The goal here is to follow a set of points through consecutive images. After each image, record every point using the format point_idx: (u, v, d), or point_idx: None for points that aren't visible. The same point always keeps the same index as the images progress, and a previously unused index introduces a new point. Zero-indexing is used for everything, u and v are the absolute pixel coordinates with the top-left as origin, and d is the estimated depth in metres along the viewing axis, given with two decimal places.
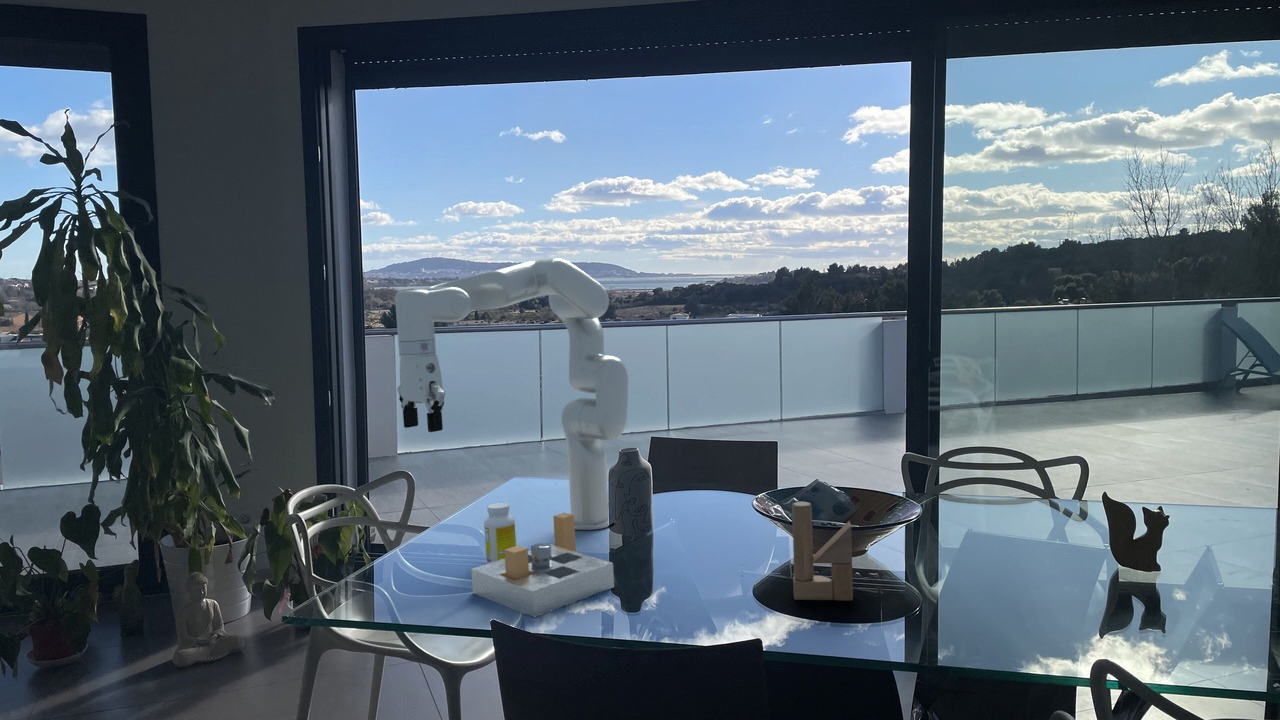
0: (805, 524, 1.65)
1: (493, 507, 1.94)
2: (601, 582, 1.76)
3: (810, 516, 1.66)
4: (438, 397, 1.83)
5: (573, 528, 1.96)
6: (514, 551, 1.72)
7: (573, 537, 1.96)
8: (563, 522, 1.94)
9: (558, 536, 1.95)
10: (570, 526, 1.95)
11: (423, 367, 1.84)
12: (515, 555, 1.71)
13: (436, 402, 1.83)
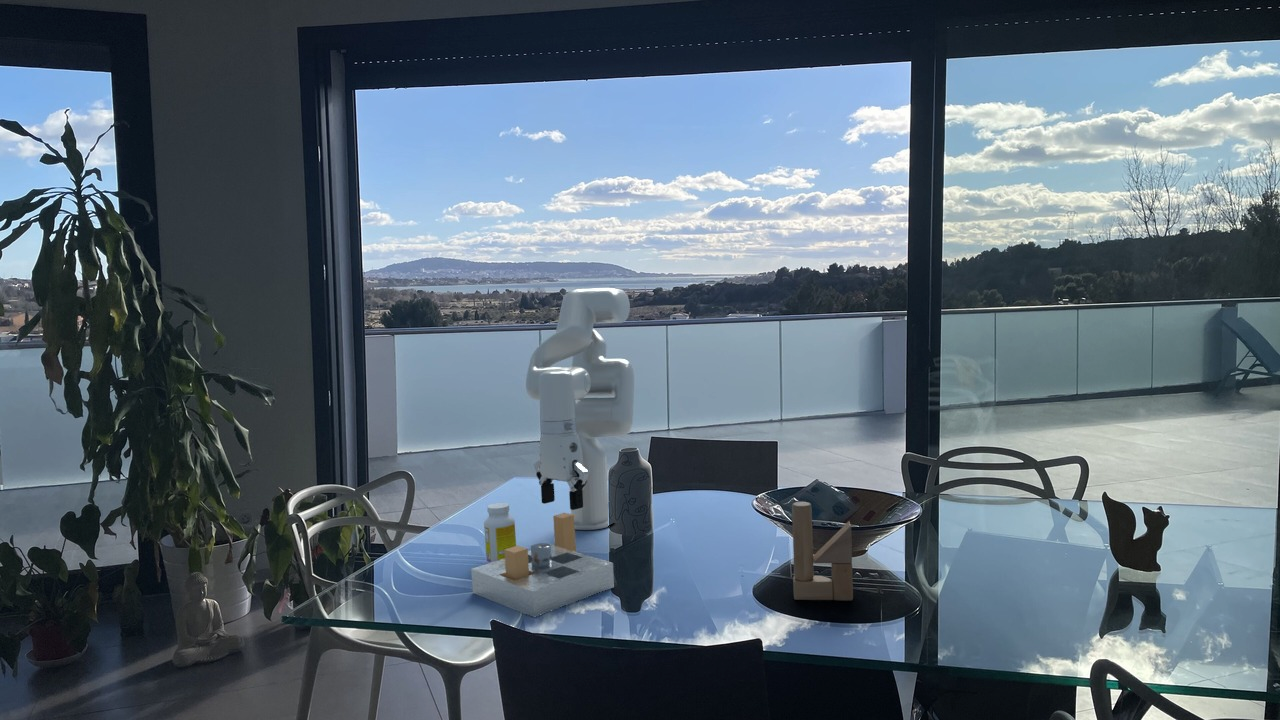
0: (805, 524, 1.65)
1: (493, 507, 1.94)
2: (601, 582, 1.76)
3: (810, 516, 1.66)
4: (582, 476, 1.88)
5: (573, 528, 1.96)
6: (514, 551, 1.72)
7: (573, 537, 1.96)
8: (563, 522, 1.94)
9: (558, 536, 1.95)
10: (570, 526, 1.95)
11: (567, 447, 1.90)
12: (515, 555, 1.71)
13: (580, 481, 1.89)
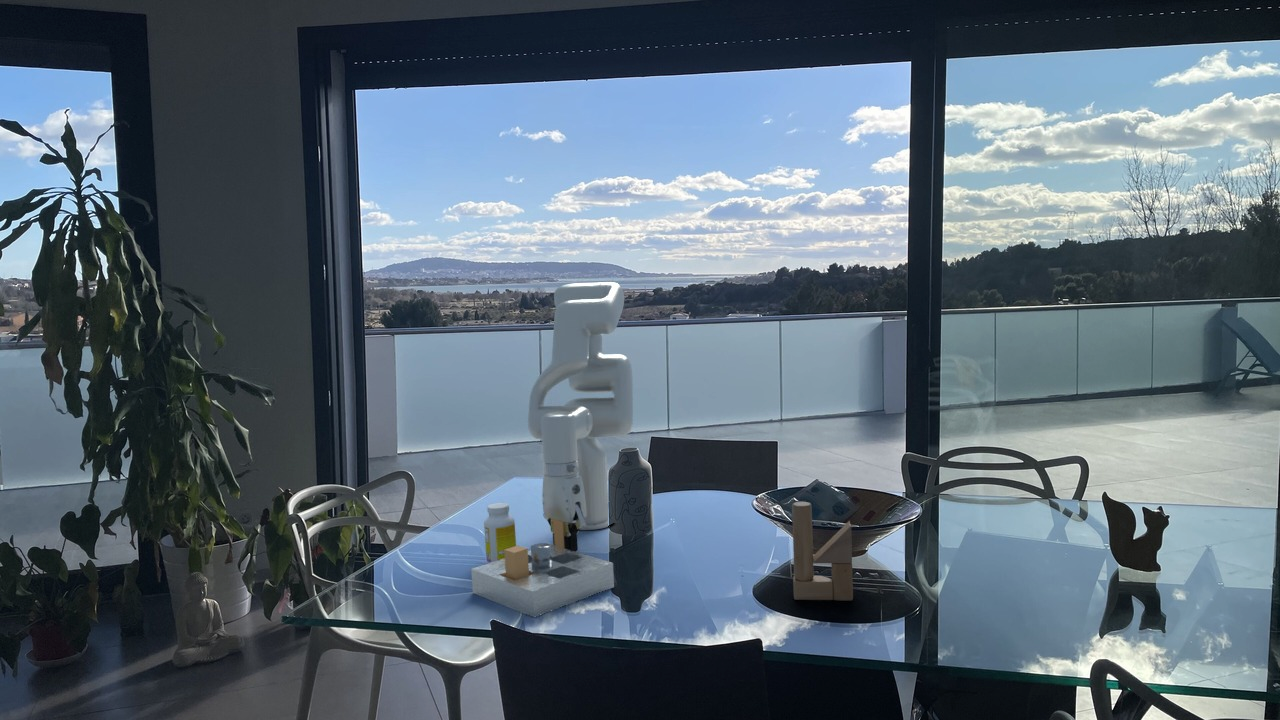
0: (805, 524, 1.65)
1: (493, 507, 1.94)
2: (601, 582, 1.76)
3: (810, 516, 1.66)
4: (578, 526, 1.92)
5: None
6: (514, 551, 1.72)
7: None
8: (563, 522, 1.94)
9: (558, 536, 1.95)
10: (570, 526, 1.95)
11: (569, 489, 1.91)
12: (515, 555, 1.71)
13: (574, 527, 1.92)
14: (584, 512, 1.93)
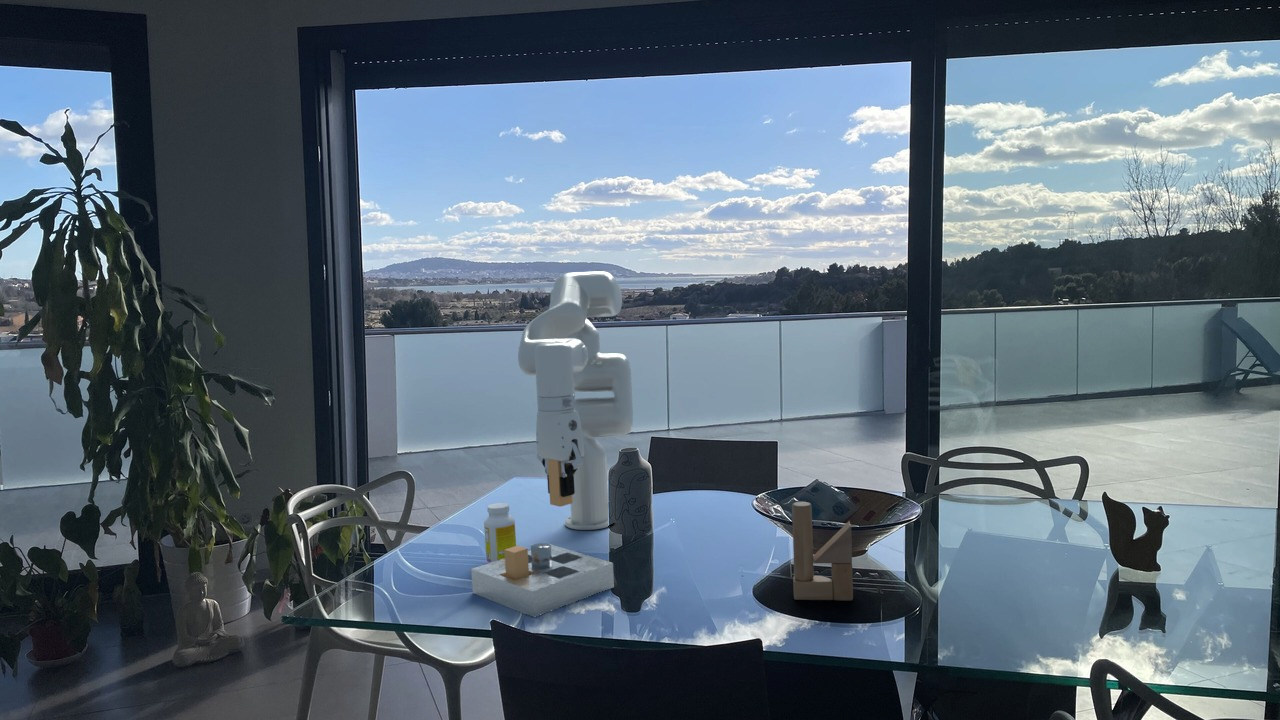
0: (805, 524, 1.65)
1: (493, 507, 1.94)
2: (601, 582, 1.76)
3: (810, 516, 1.66)
4: (575, 465, 1.76)
5: None
6: (514, 551, 1.72)
7: None
8: (558, 461, 1.78)
9: (552, 477, 1.79)
10: (566, 466, 1.79)
11: (565, 425, 1.75)
12: (515, 555, 1.71)
13: (571, 466, 1.76)
14: (581, 451, 1.77)
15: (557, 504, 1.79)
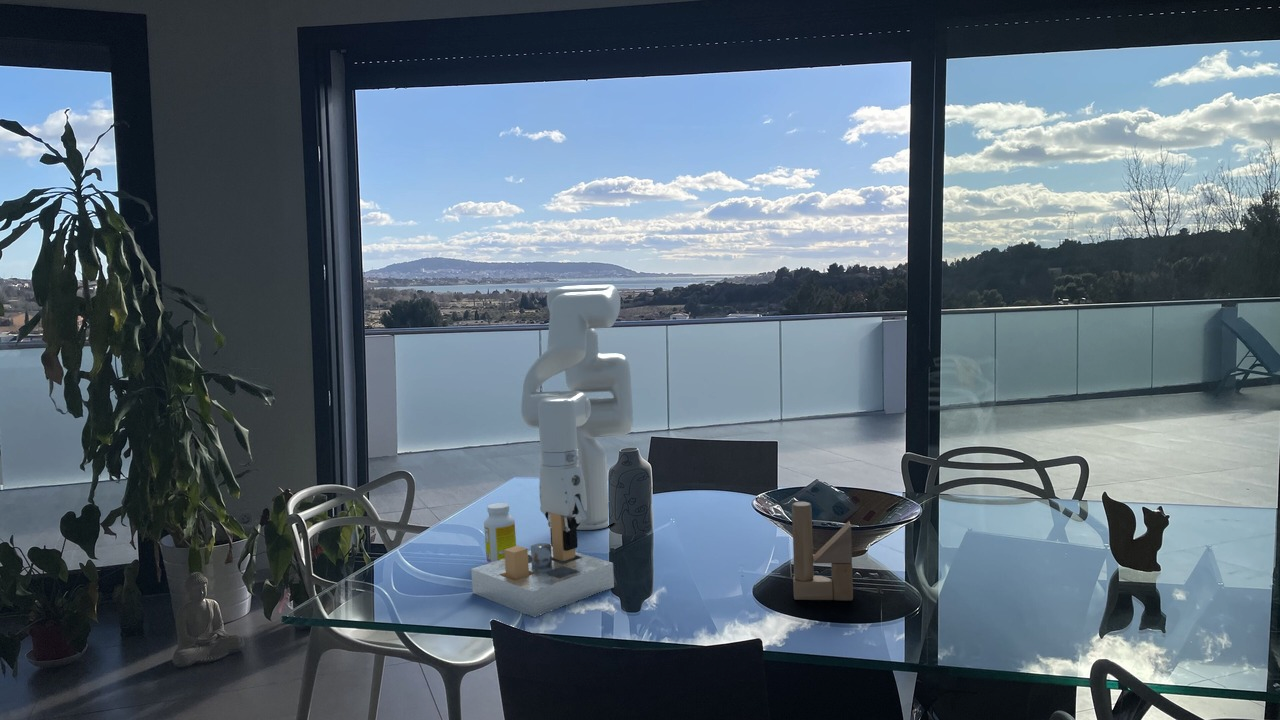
0: (805, 524, 1.65)
1: (493, 507, 1.94)
2: (601, 582, 1.76)
3: (810, 516, 1.66)
4: (578, 520, 1.77)
5: None
6: (514, 551, 1.72)
7: None
8: (561, 516, 1.79)
9: (555, 532, 1.80)
10: None
11: (569, 480, 1.76)
12: (514, 555, 1.71)
13: (574, 521, 1.77)
14: (584, 505, 1.79)
15: (560, 558, 1.80)
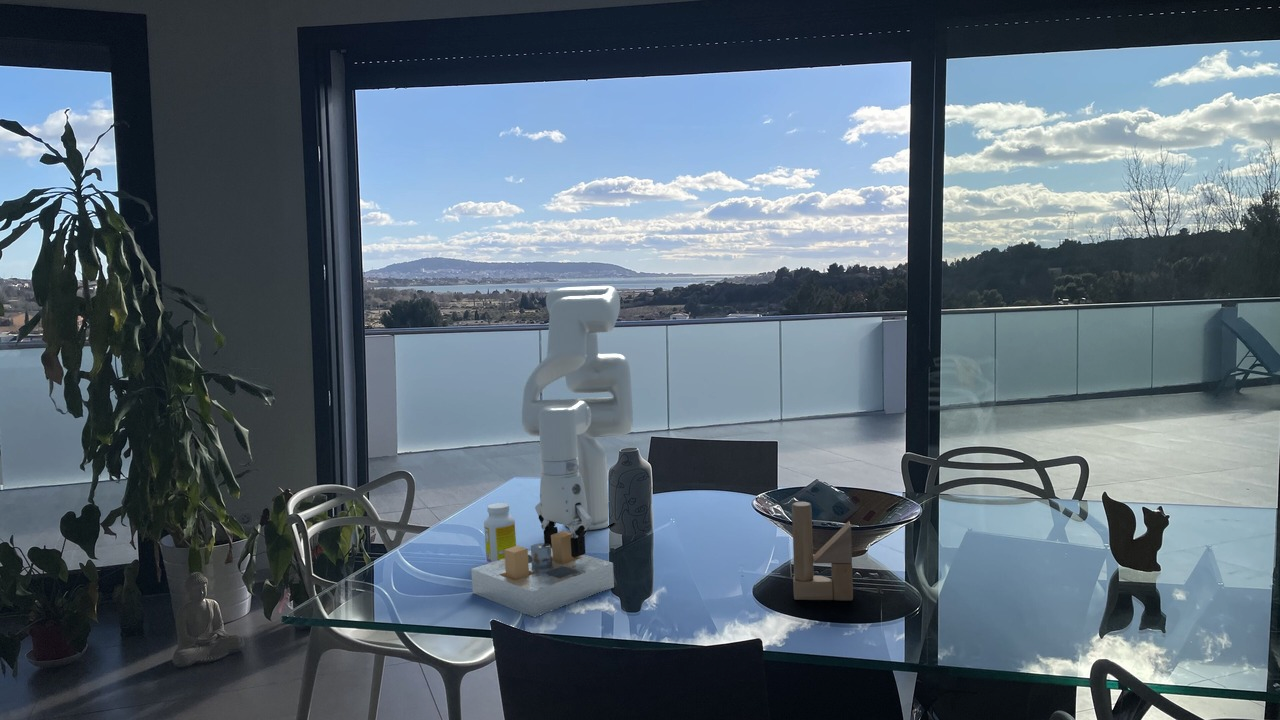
0: (804, 524, 1.65)
1: (493, 507, 1.94)
2: (601, 582, 1.76)
3: (810, 516, 1.66)
4: (585, 523, 1.76)
5: None
6: (514, 551, 1.72)
7: (573, 557, 1.82)
8: (561, 542, 1.79)
9: (556, 557, 1.81)
10: (569, 546, 1.81)
11: (569, 489, 1.76)
12: (515, 555, 1.71)
13: (582, 527, 1.76)
14: None
15: None
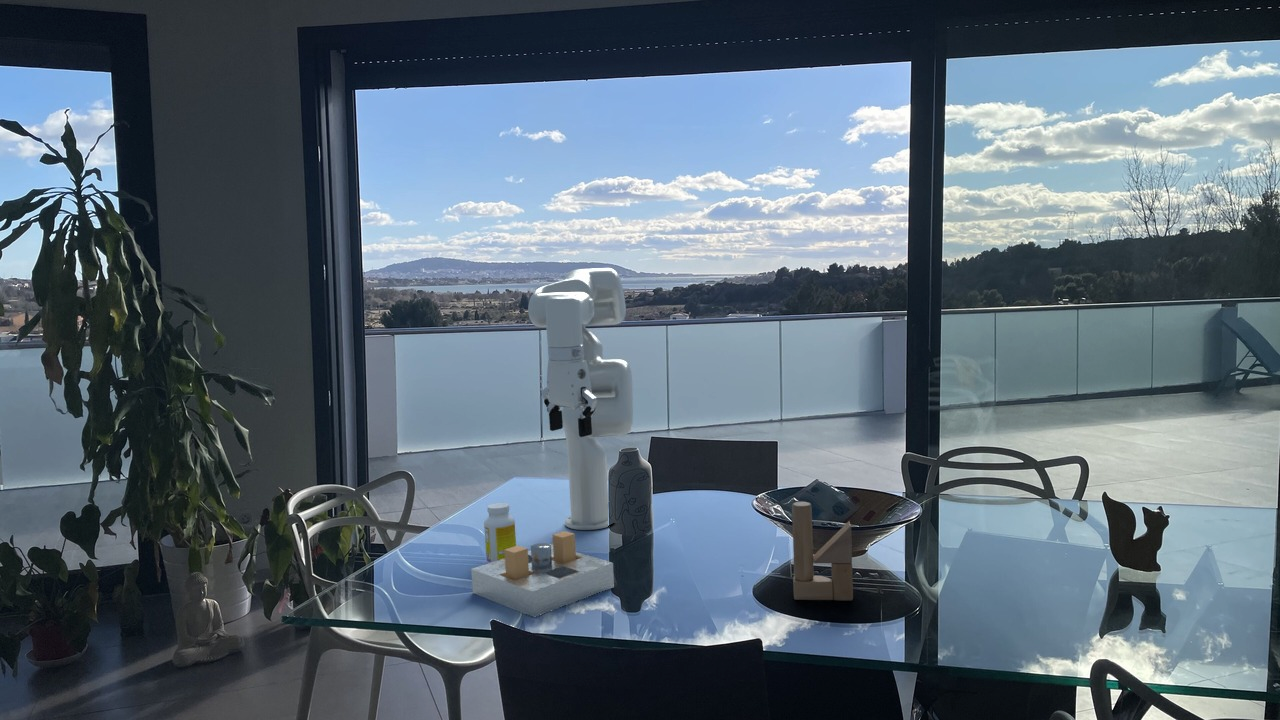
0: (805, 524, 1.65)
1: (493, 507, 1.94)
2: (601, 582, 1.76)
3: (810, 516, 1.66)
4: (591, 403, 1.85)
5: (574, 548, 1.82)
6: (514, 551, 1.72)
7: (574, 558, 1.82)
8: (563, 541, 1.80)
9: (557, 556, 1.81)
10: (571, 546, 1.81)
11: (575, 373, 1.86)
12: (515, 555, 1.71)
13: (588, 408, 1.86)
14: None
15: None
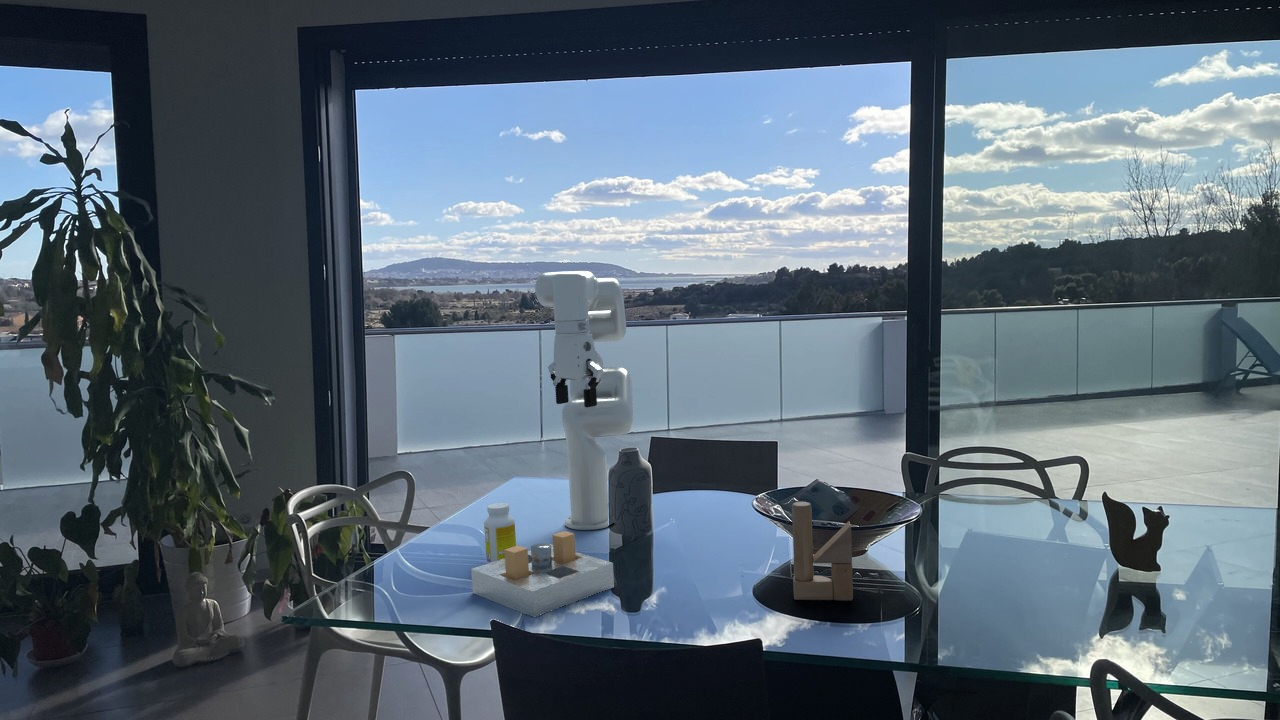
0: (804, 524, 1.65)
1: (493, 507, 1.94)
2: (601, 582, 1.76)
3: (810, 516, 1.66)
4: (596, 374, 1.93)
5: (574, 548, 1.82)
6: (514, 551, 1.72)
7: (574, 558, 1.82)
8: (563, 541, 1.80)
9: (557, 556, 1.81)
10: (571, 546, 1.81)
11: (581, 345, 1.94)
12: (515, 555, 1.71)
13: (594, 378, 1.93)
14: None
15: None
